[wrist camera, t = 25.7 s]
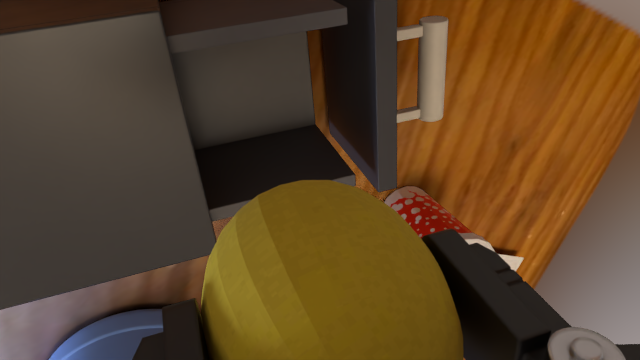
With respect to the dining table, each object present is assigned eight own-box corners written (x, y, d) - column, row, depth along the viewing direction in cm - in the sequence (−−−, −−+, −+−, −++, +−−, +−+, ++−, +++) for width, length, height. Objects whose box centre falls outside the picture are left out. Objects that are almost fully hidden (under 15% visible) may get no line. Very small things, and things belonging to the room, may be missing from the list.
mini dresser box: (399, -46, 31) (479, -28, 24) (399, 117, 37) (462, 171, 30) (88, -3, 27) (70, 34, 20) (143, 173, 33) (146, 251, 26)
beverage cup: (362, 201, 41) (450, 320, 30) (424, 165, 41) (535, 269, 30) (384, 248, 45) (471, 370, 33) (442, 215, 45) (548, 324, 33)
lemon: (336, 289, 17) (465, 539, 10) (171, 285, 15) (201, 602, 8) (391, 145, 15) (599, 347, 8) (207, 115, 12) (289, 360, 6)
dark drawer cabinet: (152, -26, 28) (159, 10, 20) (198, 163, 35) (219, 252, 26) (-164, 16, 25) (-325, 81, 16) (-46, 217, 31) (-116, 341, 23)
